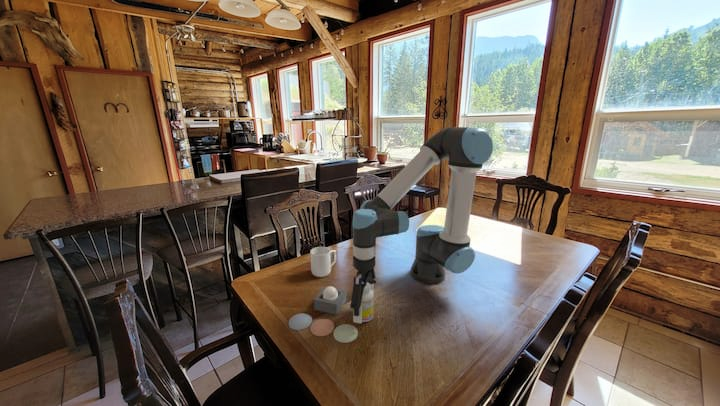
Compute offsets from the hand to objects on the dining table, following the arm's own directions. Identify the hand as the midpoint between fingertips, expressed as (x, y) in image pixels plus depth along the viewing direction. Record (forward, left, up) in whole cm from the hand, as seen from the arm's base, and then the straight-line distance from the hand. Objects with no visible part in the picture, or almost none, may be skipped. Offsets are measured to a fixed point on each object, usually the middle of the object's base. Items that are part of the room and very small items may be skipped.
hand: (363, 310), depth 101 cm
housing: (+14, -2, -3) cm, 14 cm away
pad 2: (+11, +10, -3) cm, 15 cm away
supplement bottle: (0, 0, -3) cm, 3 cm away
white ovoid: (+14, -2, -2) cm, 14 cm away
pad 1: (+20, +10, -3) cm, 22 cm away
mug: (+27, -23, -3) cm, 36 cm away
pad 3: (+3, +10, -3) cm, 11 cm away
